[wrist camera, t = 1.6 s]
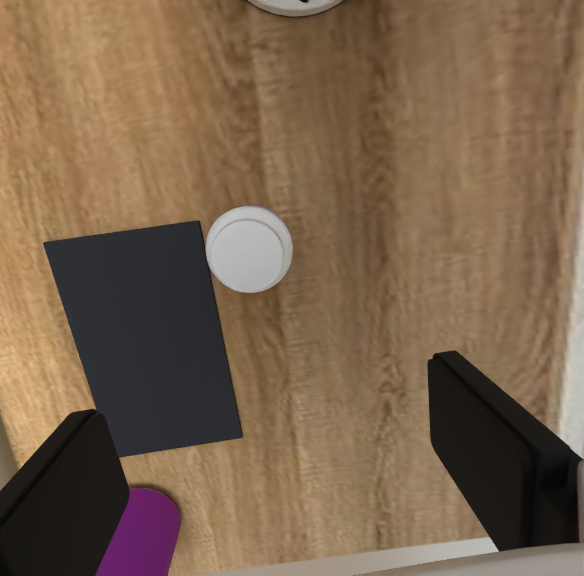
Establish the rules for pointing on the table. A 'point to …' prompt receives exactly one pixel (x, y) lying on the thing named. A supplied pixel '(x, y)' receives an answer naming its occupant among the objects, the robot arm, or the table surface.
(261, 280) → the pill bottle
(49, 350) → the table surface
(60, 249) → the desk mat
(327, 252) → the table surface
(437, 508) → the table surface
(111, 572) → the beverage can
